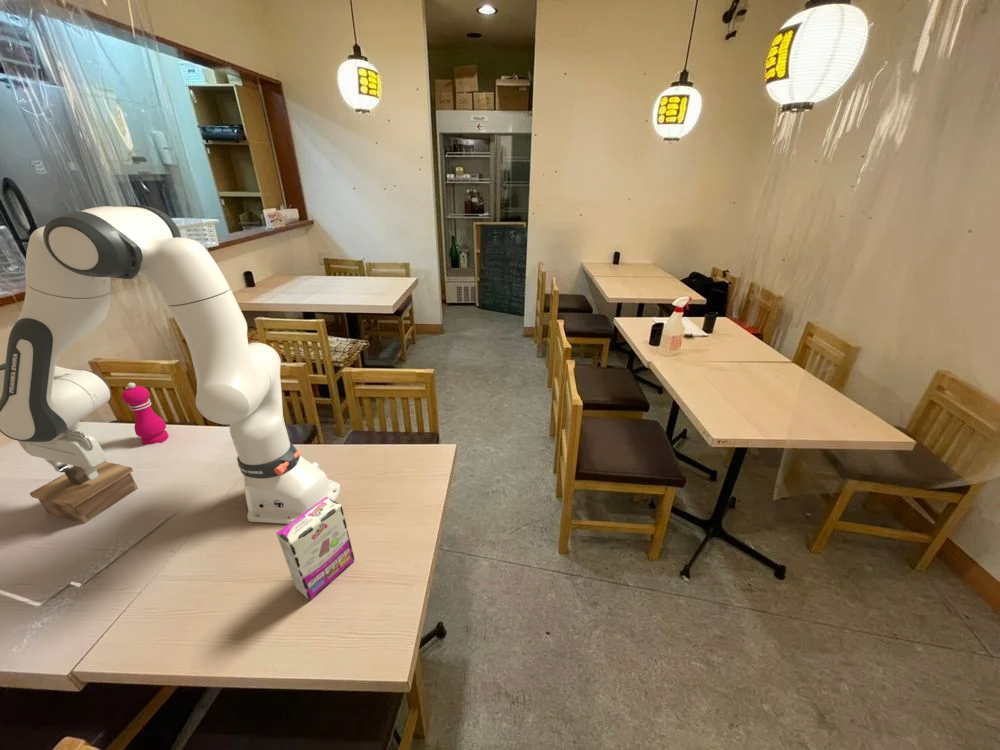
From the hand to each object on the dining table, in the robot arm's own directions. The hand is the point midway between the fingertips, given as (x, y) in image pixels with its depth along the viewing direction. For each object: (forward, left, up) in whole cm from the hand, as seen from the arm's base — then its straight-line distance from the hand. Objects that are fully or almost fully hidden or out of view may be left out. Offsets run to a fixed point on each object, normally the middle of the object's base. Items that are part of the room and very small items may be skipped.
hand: (77, 474), depth 96 cm
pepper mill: (+11, -24, -9) cm, 28 cm away
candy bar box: (-68, +3, -9) cm, 69 cm away
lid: (0, 0, -3) cm, 3 cm away
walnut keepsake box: (0, 0, -9) cm, 9 cm away
